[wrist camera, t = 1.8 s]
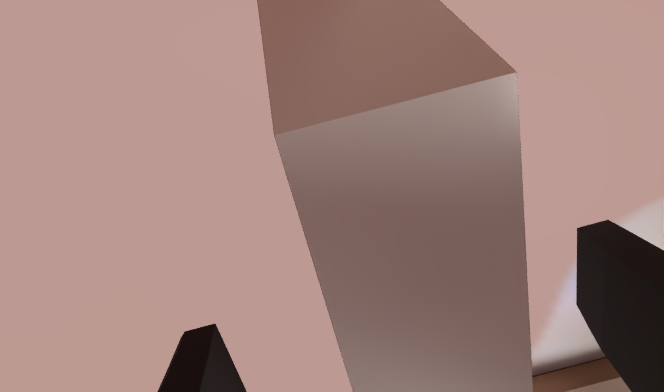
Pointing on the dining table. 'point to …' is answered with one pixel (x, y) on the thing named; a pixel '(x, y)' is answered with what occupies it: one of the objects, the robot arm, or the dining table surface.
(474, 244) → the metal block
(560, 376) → the rack
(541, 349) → the dining table surface
